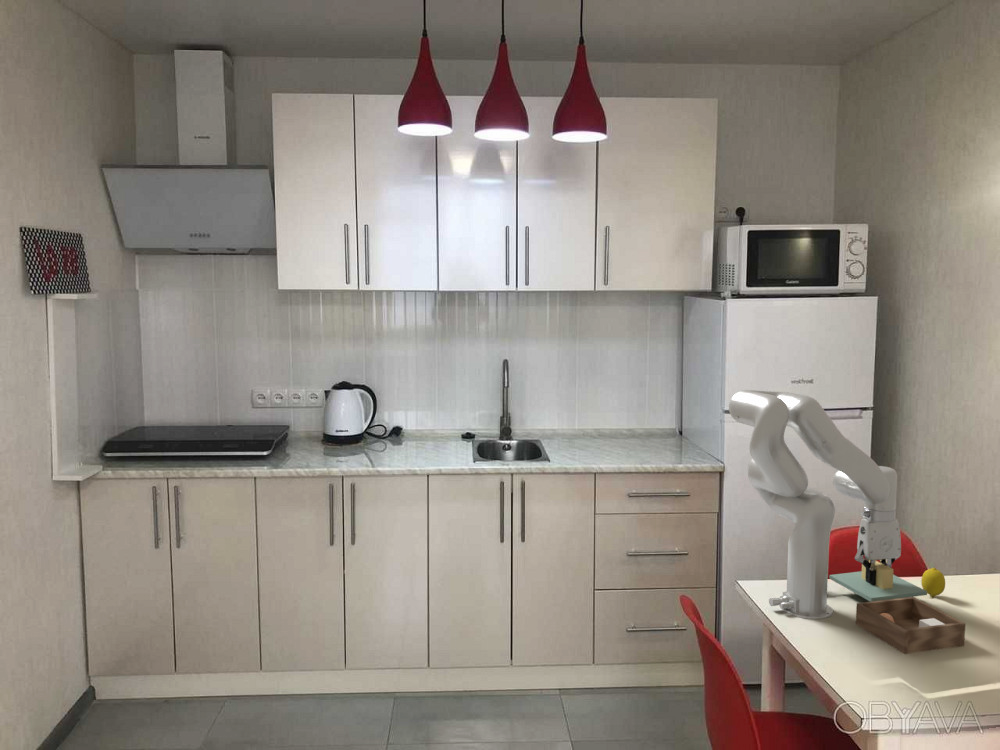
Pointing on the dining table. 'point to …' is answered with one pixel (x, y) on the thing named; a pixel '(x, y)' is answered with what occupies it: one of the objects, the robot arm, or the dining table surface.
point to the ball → (888, 616)
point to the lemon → (933, 582)
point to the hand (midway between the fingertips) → (876, 582)
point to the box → (910, 625)
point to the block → (929, 622)
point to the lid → (878, 584)
